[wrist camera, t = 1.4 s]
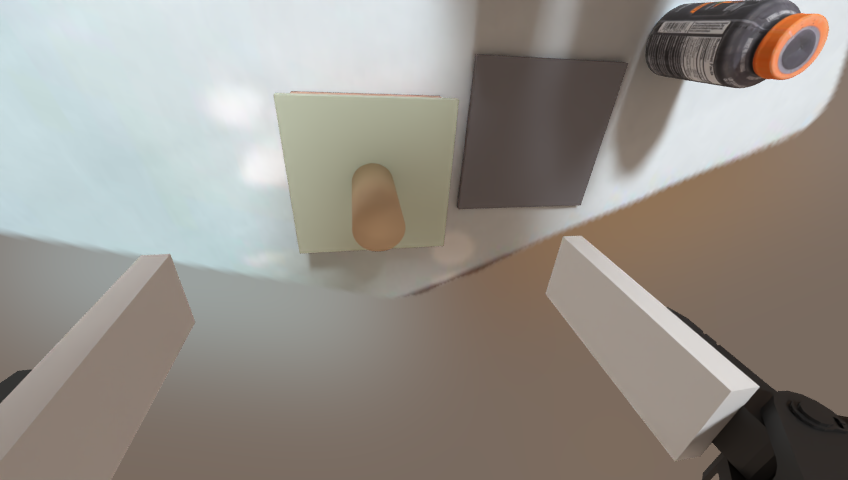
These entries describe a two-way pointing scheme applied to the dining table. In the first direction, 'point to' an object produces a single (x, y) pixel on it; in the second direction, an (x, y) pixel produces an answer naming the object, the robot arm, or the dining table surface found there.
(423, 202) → the lid
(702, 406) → the robot arm
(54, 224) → the dining table surface
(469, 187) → the mat
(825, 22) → the pill bottle
